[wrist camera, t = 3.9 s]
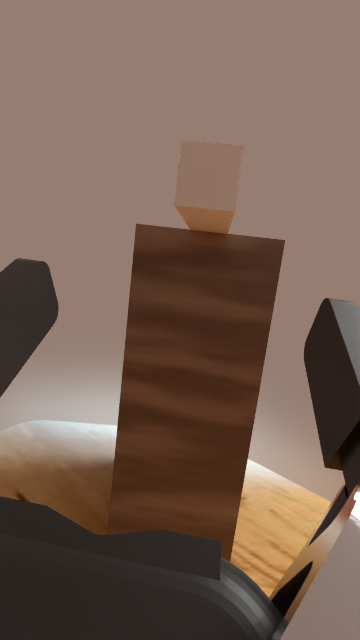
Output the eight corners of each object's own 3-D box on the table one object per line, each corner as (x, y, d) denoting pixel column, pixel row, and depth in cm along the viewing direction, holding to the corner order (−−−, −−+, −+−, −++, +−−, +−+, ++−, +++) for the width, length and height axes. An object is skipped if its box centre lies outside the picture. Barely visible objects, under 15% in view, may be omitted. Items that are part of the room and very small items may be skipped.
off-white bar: (234, 211, 15) (244, 145, 15) (174, 205, 16) (181, 140, 15) (223, 247, 41) (226, 223, 40) (200, 244, 41) (203, 221, 41)
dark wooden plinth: (226, 581, 30) (284, 240, 25) (105, 555, 31) (136, 223, 26) (223, 474, 46) (258, 251, 40) (142, 460, 47) (166, 240, 42)
